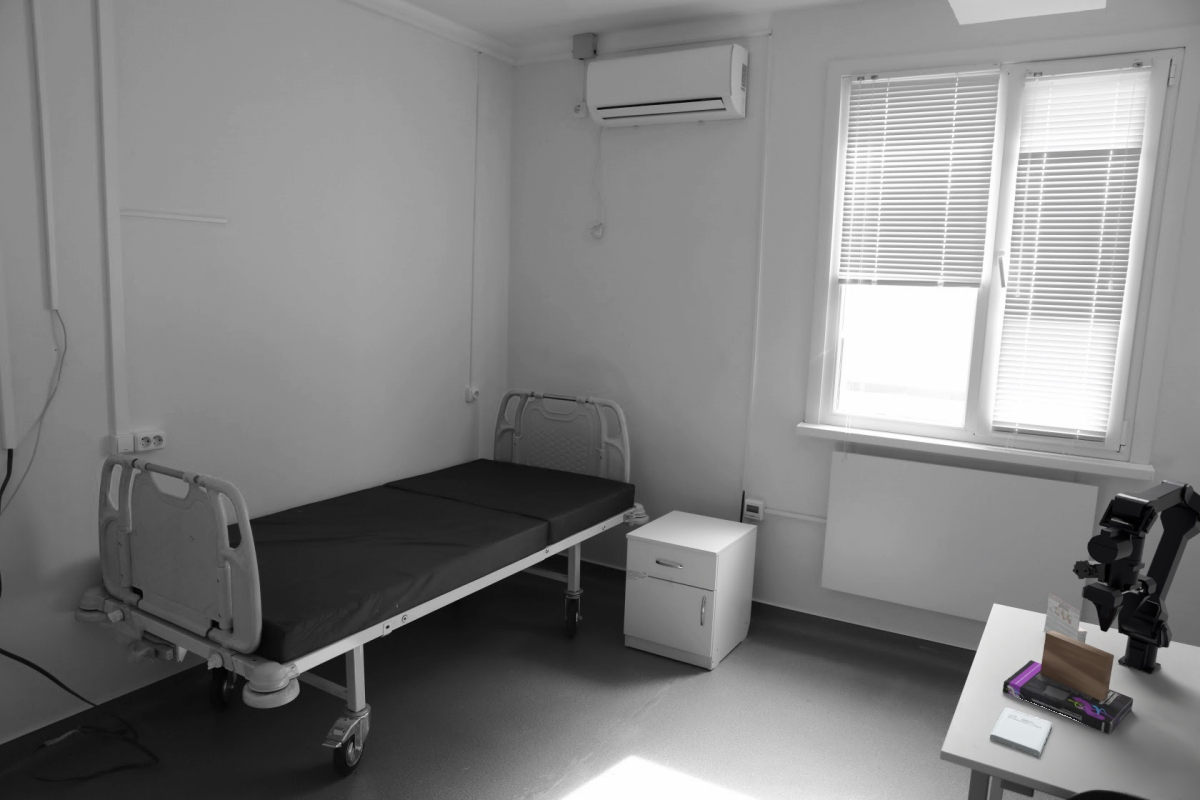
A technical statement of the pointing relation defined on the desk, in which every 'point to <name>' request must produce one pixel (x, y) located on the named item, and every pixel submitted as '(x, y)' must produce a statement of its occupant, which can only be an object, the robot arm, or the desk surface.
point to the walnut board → (1077, 665)
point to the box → (1068, 699)
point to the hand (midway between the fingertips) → (1113, 627)
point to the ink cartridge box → (1064, 620)
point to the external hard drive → (1021, 731)
